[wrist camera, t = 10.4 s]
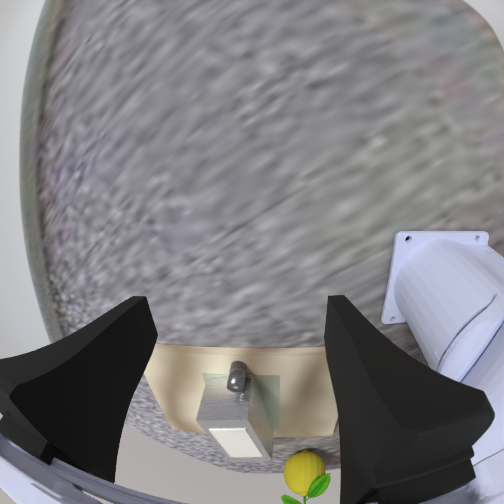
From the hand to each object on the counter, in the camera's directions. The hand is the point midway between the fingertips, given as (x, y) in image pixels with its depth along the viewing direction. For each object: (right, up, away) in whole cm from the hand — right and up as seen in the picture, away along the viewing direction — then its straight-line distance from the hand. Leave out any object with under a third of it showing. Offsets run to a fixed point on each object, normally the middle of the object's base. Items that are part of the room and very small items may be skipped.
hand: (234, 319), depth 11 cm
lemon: (+8, -25, +21) cm, 34 cm away
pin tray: (0, -13, +16) cm, 20 cm away
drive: (0, -13, +15) cm, 19 cm away
